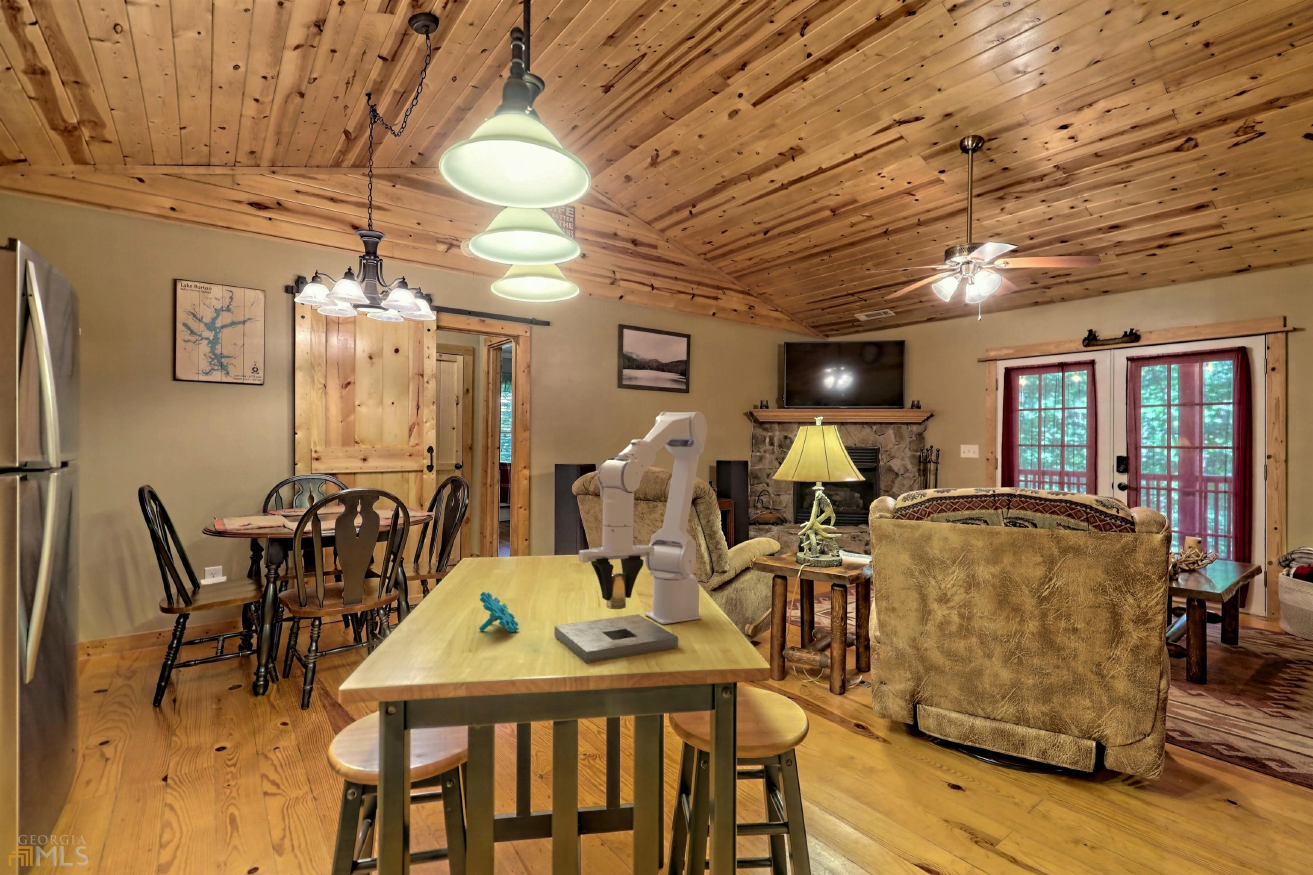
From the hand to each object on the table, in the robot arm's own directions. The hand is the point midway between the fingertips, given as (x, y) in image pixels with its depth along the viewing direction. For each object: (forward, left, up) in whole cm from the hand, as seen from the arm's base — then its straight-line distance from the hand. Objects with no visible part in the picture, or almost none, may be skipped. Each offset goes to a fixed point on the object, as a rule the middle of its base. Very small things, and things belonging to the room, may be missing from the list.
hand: (616, 597), depth 117 cm
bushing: (0, 0, -2) cm, 2 cm away
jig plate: (0, -1, -8) cm, 8 cm away
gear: (+17, -17, -9) cm, 26 cm away
